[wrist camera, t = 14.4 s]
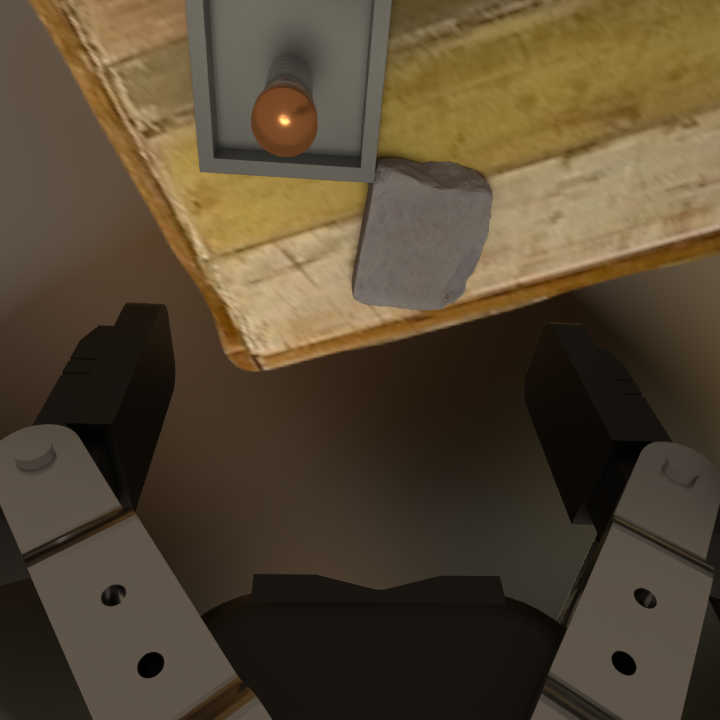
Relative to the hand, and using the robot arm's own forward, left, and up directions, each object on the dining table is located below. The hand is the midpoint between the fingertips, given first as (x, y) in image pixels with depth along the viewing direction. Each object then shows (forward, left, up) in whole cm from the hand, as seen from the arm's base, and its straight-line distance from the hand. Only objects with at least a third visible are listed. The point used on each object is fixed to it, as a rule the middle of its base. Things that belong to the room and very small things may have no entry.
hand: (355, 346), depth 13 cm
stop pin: (+3, +2, -32) cm, 32 cm away
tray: (+3, +2, -33) cm, 33 cm away
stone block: (-7, +13, -34) cm, 37 cm away
